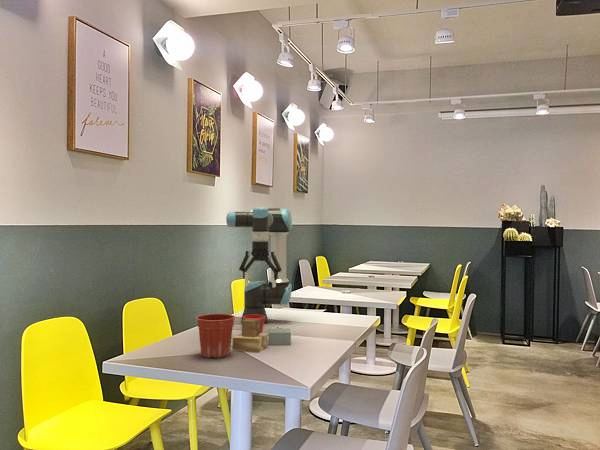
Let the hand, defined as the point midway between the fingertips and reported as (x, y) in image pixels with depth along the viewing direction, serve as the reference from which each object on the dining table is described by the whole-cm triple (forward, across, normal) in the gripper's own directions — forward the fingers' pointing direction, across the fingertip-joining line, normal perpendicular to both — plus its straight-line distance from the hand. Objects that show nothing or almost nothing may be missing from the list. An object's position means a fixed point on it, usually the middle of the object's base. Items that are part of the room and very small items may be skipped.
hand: (260, 286), depth 234 cm
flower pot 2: (+27, -9, +15) cm, 32 cm away
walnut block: (+21, -1, -10) cm, 23 cm away
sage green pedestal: (+27, +8, +4) cm, 28 cm away
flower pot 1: (+26, -10, -25) cm, 38 cm away
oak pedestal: (+27, -1, -10) cm, 29 cm away
